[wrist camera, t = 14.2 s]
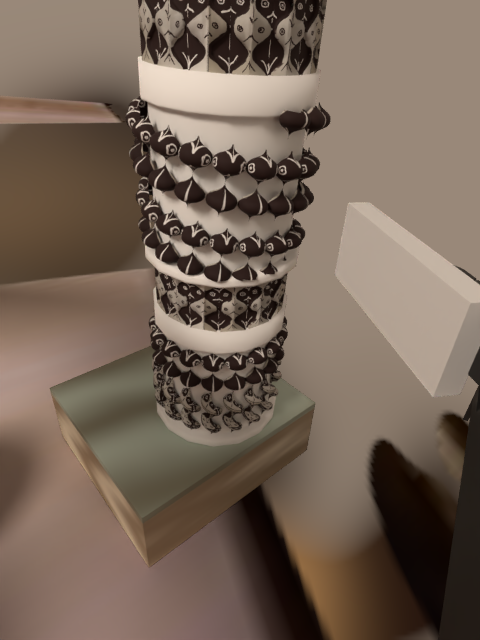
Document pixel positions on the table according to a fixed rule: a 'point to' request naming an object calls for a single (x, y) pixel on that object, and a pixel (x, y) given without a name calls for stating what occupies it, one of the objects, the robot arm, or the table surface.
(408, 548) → the table surface
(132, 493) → the riser
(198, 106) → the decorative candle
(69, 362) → the table surface
